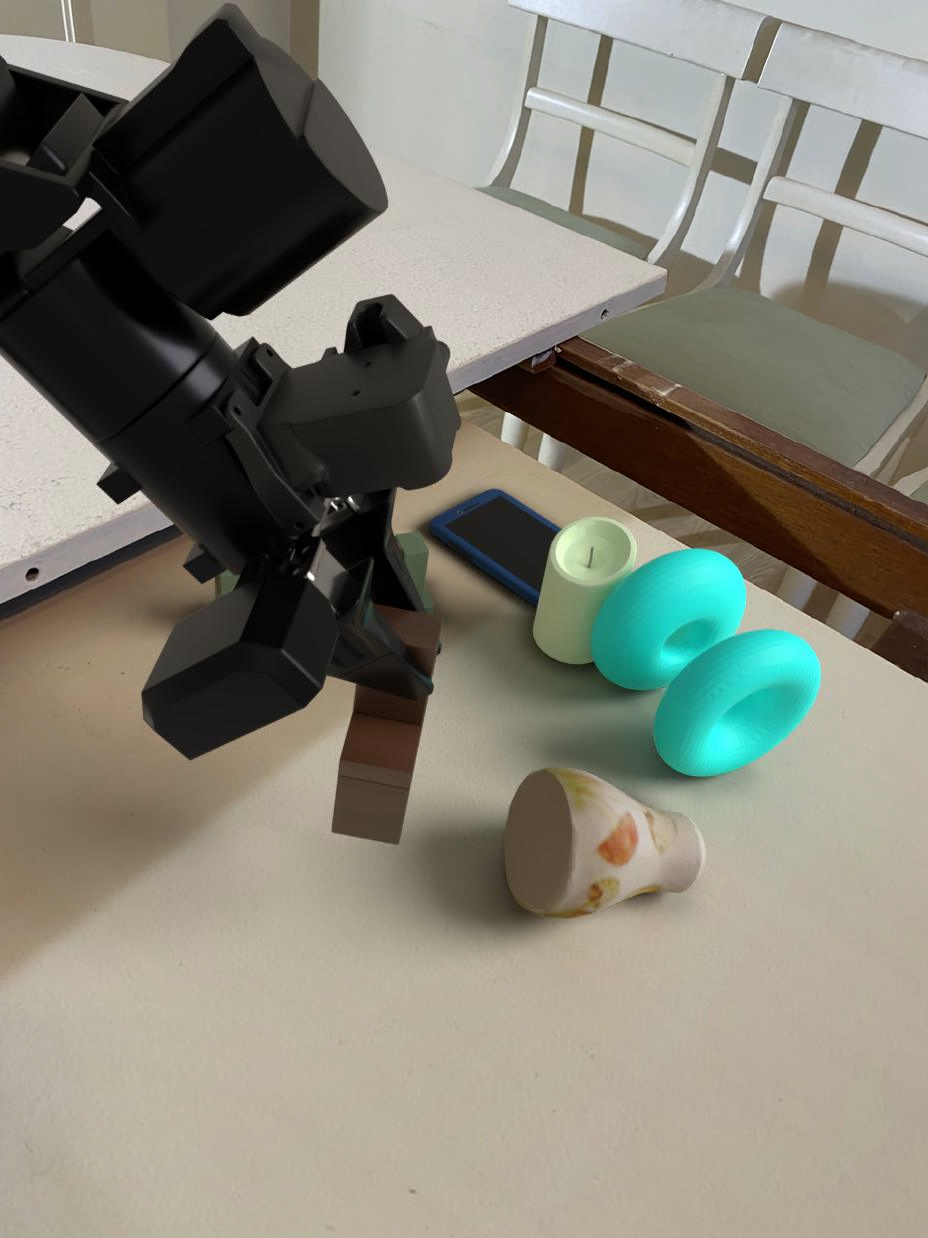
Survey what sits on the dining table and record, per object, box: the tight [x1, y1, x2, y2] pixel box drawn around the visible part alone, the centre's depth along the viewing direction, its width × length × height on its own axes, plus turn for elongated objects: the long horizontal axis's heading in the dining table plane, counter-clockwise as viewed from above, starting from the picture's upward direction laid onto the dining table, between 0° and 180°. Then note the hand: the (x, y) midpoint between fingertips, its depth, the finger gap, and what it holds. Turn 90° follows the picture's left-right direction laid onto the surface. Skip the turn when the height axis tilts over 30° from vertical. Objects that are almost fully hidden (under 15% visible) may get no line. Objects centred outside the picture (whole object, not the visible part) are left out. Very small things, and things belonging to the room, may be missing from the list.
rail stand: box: [202, 531, 436, 615], centre depth 63 cm, size 14×3×5 cm, turn 110°
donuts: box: [591, 548, 822, 778], centre depth 58 cm, size 10×10×10 cm
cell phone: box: [428, 487, 563, 609], centre depth 71 cm, size 7×14×1 cm, turn 47°
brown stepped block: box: [330, 603, 444, 846], centre depth 44 cm, size 7×3×10 cm, turn 173°
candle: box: [532, 516, 638, 665], centre depth 63 cm, size 5×5×8 cm
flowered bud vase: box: [503, 766, 707, 919], centre depth 51 cm, size 8×10×10 cm
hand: (429, 674), depth 43 cm, fingers closed on brown stepped block, 2 cm apart
